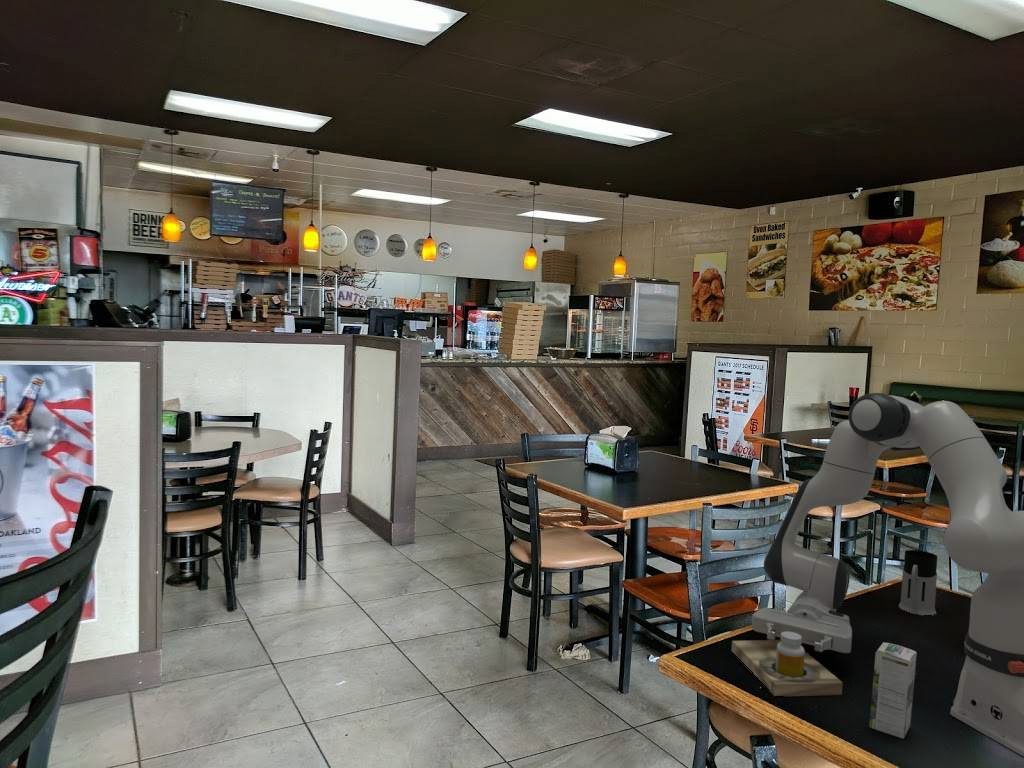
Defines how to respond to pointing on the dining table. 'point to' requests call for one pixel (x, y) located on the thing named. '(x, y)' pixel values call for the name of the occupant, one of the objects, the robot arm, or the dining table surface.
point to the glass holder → (919, 582)
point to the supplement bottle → (790, 655)
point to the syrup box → (893, 689)
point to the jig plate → (763, 664)
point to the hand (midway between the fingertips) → (794, 641)
